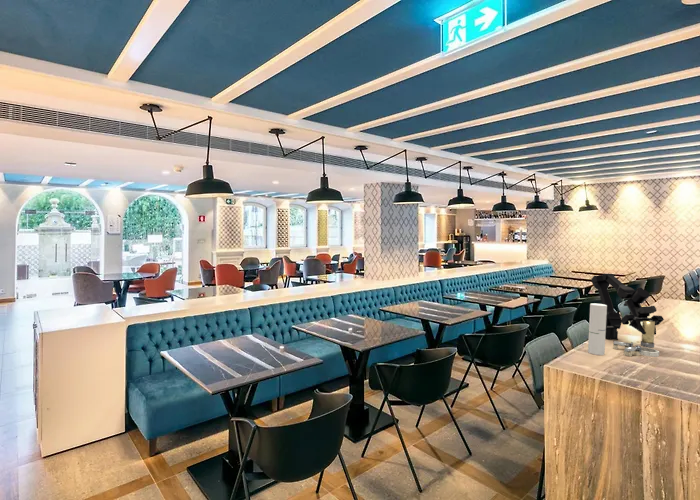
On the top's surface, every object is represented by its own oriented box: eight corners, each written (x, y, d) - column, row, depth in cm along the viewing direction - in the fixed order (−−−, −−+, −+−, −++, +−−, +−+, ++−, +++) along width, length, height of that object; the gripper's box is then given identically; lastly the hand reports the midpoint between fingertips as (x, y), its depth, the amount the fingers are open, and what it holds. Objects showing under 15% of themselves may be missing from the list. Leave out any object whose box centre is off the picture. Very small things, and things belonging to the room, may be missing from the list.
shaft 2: (635, 353, 197) (635, 344, 197) (641, 355, 194) (642, 346, 194) (623, 354, 195) (623, 345, 194) (629, 356, 192) (629, 347, 191)
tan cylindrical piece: (637, 344, 200) (639, 319, 200) (648, 344, 200) (650, 320, 200) (645, 347, 195) (647, 322, 194) (657, 347, 194) (658, 322, 194)
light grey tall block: (607, 355, 192) (609, 306, 191) (591, 354, 194) (593, 305, 193) (600, 351, 199) (603, 303, 198) (585, 350, 201) (587, 303, 200)
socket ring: (641, 355, 194) (641, 351, 194) (632, 350, 203) (632, 346, 203) (663, 357, 192) (663, 353, 192) (652, 351, 201) (652, 348, 201)
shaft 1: (632, 350, 202) (632, 341, 202) (632, 351, 200) (632, 343, 200) (613, 347, 207) (613, 339, 207) (613, 348, 205) (613, 340, 205)
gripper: (626, 299, 200) (640, 325, 190) (662, 300, 200) (678, 326, 190) (615, 311, 209) (628, 336, 198) (649, 312, 208) (664, 337, 198)
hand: (650, 334), depth 196 cm, fingers closed on tan cylindrical piece, 5 cm apart
